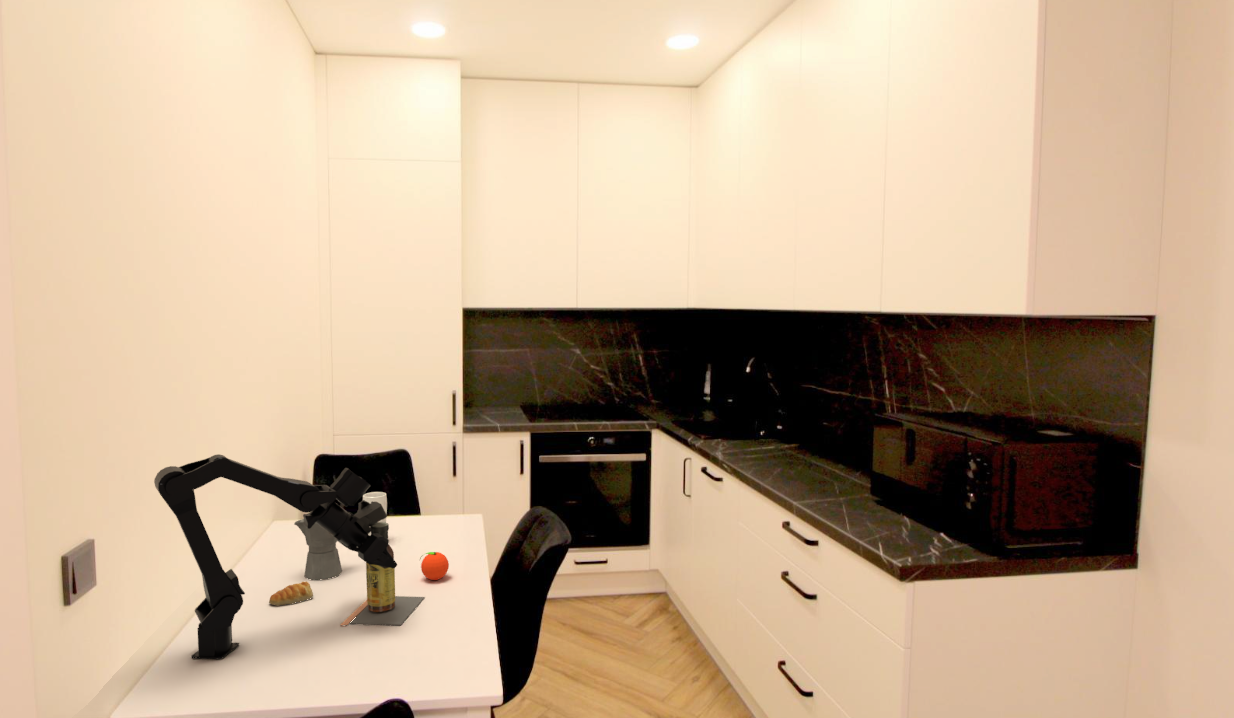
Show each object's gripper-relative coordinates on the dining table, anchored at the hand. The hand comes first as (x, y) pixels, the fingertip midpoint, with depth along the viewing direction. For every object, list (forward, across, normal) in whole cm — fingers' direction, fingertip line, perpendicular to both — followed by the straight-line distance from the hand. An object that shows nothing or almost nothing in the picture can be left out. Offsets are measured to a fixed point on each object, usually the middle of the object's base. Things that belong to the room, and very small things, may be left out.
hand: (388, 561), depth 176 cm
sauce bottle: (+7, 0, +9) cm, 11 cm away
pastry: (-3, +20, +20) cm, 28 cm away
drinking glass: (+19, +50, -2) cm, 53 cm away
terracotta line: (+6, +7, +10) cm, 13 cm away
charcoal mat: (+8, -1, +8) cm, 11 cm away
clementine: (+20, +12, -3) cm, 24 cm away
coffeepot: (+6, +33, +11) cm, 35 cm away
